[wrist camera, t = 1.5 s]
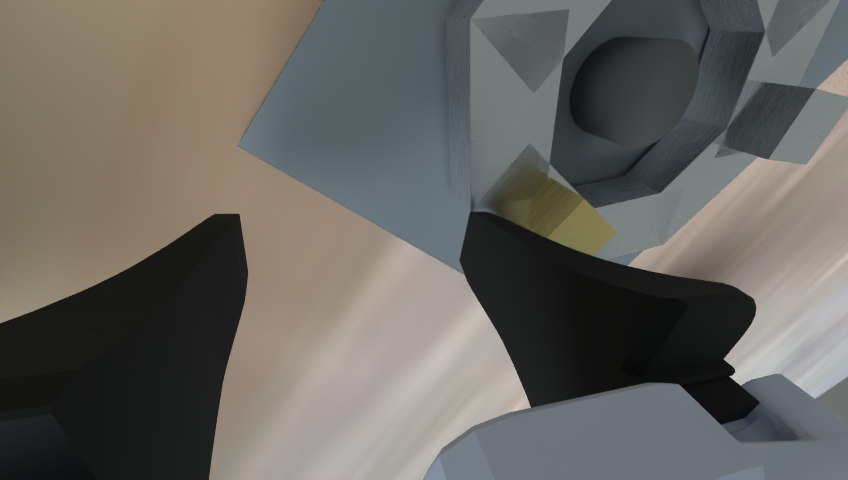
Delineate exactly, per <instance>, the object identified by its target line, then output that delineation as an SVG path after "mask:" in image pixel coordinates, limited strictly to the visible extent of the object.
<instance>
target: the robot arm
mask: <svg viewBox="0 0 848 480" xmlns="http://www.w3.org/2000/svg"><path fill="white" fill-rule="evenodd" d="M459 261H460V264H461V267H462V269H463V272H464V274H465V277H466V279H467V281H468V283H469V285H470V287H471V289H472V290H473V292H474V294H475V296H476V297H477V299H478V301H479V302H480V304H481V305H482V307H483V309H484V310H485V312H486V314H487V315H488V317H489V319H490V320H491V322H492V324H493V325H494V327H495V329H496V330H497V332H498V334H499V335H500V337H501V339H502V341H503V343H504V345H505V347H506V349H507V351H508V354H509V356H510V358H511V360H512V362H513V364H514V367H515V369H516V371H517V374H518V376H519V378H520V381H521V383H522V386H523V388H524V390H525V393H526V395H527V398H528V400H529V403H530V406H531V408H528V409H524V410H519V411H514V412H510V413H507V414H504V415H502V416H499V417H496V418H494V419H491V420H488V421H486V422H483V423H480V424H478V425H475V426H473V427H471V428H470V429H469V430H467V431H466V432H464V433H463V434H462V435H460V436H459V437H457V438H456V439H455V440H453V441H452V442H450V443H449V444H448V445H446V446H445V447H443V448H442V450H441V451H440V453H439V454H438V456H437V457H436V459H435V460H434V462H433V463H432V465H431V466H430V468H429V469H428V471H427V473H426V475H425V477H424V479H423V480H848V423H847V422H845V421H844V420H842V419H841V418H840V417H838V416H837V415H836V414H834V413H833V412H832V411H830V410H829V409H828V408H826V407H825V406H824V405H822V404H821V403H819V402H818V401H817V400H815V399H814V398H813V397H811V396H810V395H809V394H807V393H806V392H805V391H803V390H802V389H801V388H799V387H798V386H796V385H795V384H794V383H792V382H791V381H790V380H788V379H787V378H786V377H784V376H783V375H782V374H773V375H769V376H765V377H761V378H757V379H753V380H750V381H748V382H746V383H745V384H743V385H742V386H740V385H739V384H738V383H736V382H735V381H734V380H733V379H732V378H730V377H729V376H732V375H733V374H734V373H735V369H734V368H733V367H732V366H731V365H730V364H728V363H727V362H726V361H725V360H723V359H724V358H725V357H726V355H727V354H728V353H729V352H730V350H731V349H732V348H733V347H734V346H735V344H736V343H737V342H738V341H739V340H740V338H741V337H742V336H743V335H744V333H745V332H746V331H747V329H748V328H749V326H750V325H751V323H752V321H753V319H754V317H755V313H756V304H755V301H754V299H753V298H751V297H750V296H748V295H747V294H745V293H744V292H742V291H741V290H739V289H737V288H735V287H733V286H730V285H727V284H724V283H718V282H711V281H704V280H697V279H690V278H683V277H677V276H671V275H666V274H661V273H656V272H651V271H646V270H642V269H638V268H633V267H629V266H626V265H622V264H618V263H615V262H611V261H607V260H604V259H601V258H598V257H595V256H592V255H589V254H586V253H583V252H580V251H577V250H575V249H572V248H569V247H567V246H564V245H562V244H560V243H557V242H555V241H552V240H550V239H548V238H546V237H543V236H541V235H539V234H537V233H535V232H532V231H530V230H528V229H526V228H524V227H522V226H520V225H518V224H515V223H513V222H511V221H509V220H507V219H505V218H502V217H500V216H498V215H495V214H492V213H489V212H486V211H483V212H470V214H469V218H468V223H467V227H466V232H465V236H464V241H463V246H462V250H461V255H460V259H459ZM247 279H248V268H247V261H246V255H245V248H244V242H243V235H242V228H241V222H240V215H239V214H214V215H212V216H211V217H209V218H207V219H206V220H204V221H203V222H201V223H200V224H198V225H197V226H196V227H194V228H193V229H191V230H190V231H188V232H187V233H185V234H184V235H182V236H181V237H179V238H178V239H176V240H175V241H173V242H172V243H170V244H169V245H167V246H166V247H164V248H162V249H161V250H159V251H157V252H156V253H154V254H152V255H151V256H149V257H147V258H146V259H144V260H142V261H141V262H139V263H138V264H136V265H134V266H132V267H130V268H129V269H127V270H125V271H123V272H121V273H119V274H117V275H115V276H113V277H111V278H109V279H107V280H105V281H103V282H101V283H99V284H97V285H95V286H93V287H90V288H88V289H86V290H84V291H81V292H79V293H77V294H74V295H72V296H69V297H67V298H64V299H62V300H60V301H57V302H55V303H52V304H50V305H47V306H45V307H43V308H40V309H38V310H35V311H33V312H30V313H28V314H25V315H22V316H20V317H17V318H14V319H11V320H8V321H6V322H3V323H0V480H209V474H210V466H211V458H212V451H213V444H214V437H215V430H216V423H217V416H218V410H219V403H220V397H221V391H222V384H223V380H224V375H225V371H226V367H227V363H228V360H229V356H230V352H231V349H232V345H233V342H234V338H235V335H236V331H237V328H238V324H239V320H240V317H241V313H242V310H243V306H244V302H245V295H246V288H247Z"/></svg>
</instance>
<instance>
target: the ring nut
mask: <svg viewBox="0 0 848 480" xmlns="http://www.w3.org/2000/svg"><path fill="white" fill-rule="evenodd" d="M610 1H611V0H458V2H457V3H456V5H455V6H454V7H453V9H452V10H451V12H450V13H449V14H448V16H447V17H446V19H445V33H446V61H447V88H448V116H449V144H450V172H451V190H452V191H453V192H454V193H455V194H456V196H457V197H458V198H459V199H460V200H461V201H462V202H463V203H464V205H465V206H466V207H467V208H468V209H469V210H470V211H471V212H483V211H486V212H489V213H492V214H495V215H498V216H500V217H502V218H505V219H507V220H509V221H511V222H513V223H515V224H518V225H520V226H522V227H524V228H526V229H528V230H530V231H532V232H535V233H537V234H539V235H541V236H543V237H546V238H548V239H550V240H552V241H555V242H557V243H560V244H562V245H564V246H567V247H569V248H572V249H575V250H577V251H580V252H583V253H586V254H589V255H592V256H595V257H598V258H601V259H604V260H608V259H612V258H615V257H619V256H623V255H627V254H630V253H634V252H638V251H641V250H645V249H649V248H653V247H656V246H660V245H663V244H664V243H665V242H666V241H667V240H669V239H670V238H671V237H672V236H673V235H674V234H675V233H676V232H677V231H678V230H679V229H680V228H682V227H683V226H684V225H685V224H686V223H687V222H688V221H689V220H690V219H691V218H692V217H693V216H694V215H696V214H697V213H698V212H699V211H700V210H701V209H702V208H703V207H704V206H705V205H706V204H707V203H709V202H710V201H711V200H712V199H713V198H714V197H715V196H716V195H717V194H718V193H719V192H720V191H721V190H723V189H724V188H725V187H726V186H727V185H728V184H729V183H730V182H731V181H732V180H733V179H734V178H736V177H737V176H738V175H739V174H740V173H741V172H742V171H743V170H744V169H745V168H746V167H747V166H748V165H750V164H751V163H752V162H753V161H754V160H755V159H756V158H757V157H762V158H765V159H769V160H776V161H784V162H791V163H799V164H807V163H808V161H809V160H810V159H811V157H812V156H813V155H814V153H815V152H816V150H817V149H818V148H819V146H820V145H821V144H822V142H823V141H824V140H825V138H826V137H827V136H828V134H829V133H830V131H831V130H832V129H833V127H834V126H835V125H836V123H837V122H838V121H839V119H840V118H841V117H842V115H843V114H844V112H845V111H846V110H847V108H848V97H845V96H841V95H837V94H834V93H830V92H826V91H822V90H818V89H813V88H806V87H798V86H799V84H800V82H801V80H802V78H803V75H804V73H805V71H806V69H807V67H808V65H809V63H810V61H811V59H812V57H813V55H814V53H815V51H816V49H817V47H818V45H819V43H820V41H821V38H822V36H823V34H824V32H825V30H826V28H827V26H828V24H829V22H830V20H831V18H832V16H833V14H834V12H835V10H836V8H837V6H838V4H839V1H840V0H699V2H700V5H701V7H702V10H703V13H704V15H705V18H706V20H707V23H708V26H709V28H710V34H709V37H708V40H707V43H706V46H705V49H704V52H703V55H702V58H701V61H700V64H699V75H698V82H697V86H696V89H695V92H694V95H693V98H692V100H691V102H690V104H689V106H688V108H687V110H686V111H685V113H684V114H683V116H682V118H681V119H680V120H679V121H678V122H677V124H676V125H675V126H674V127H673V128H672V129H671V130H670V131H669V132H668V133H667V134H666V135H664V136H663V137H662V138H661V139H660V140H659V141H658V142H657V143H656V144H655V146H654V147H653V148H652V149H651V150H650V151H649V152H648V153H647V154H646V155H645V156H644V157H643V158H642V159H641V160H640V161H639V162H638V163H637V164H636V165H635V166H634V167H633V168H632V169H631V170H630V171H629V172H628V173H627V174H626V175H625V176H622V177H617V178H612V179H608V180H603V181H599V182H594V183H589V184H585V185H580V186H575V187H572V186H571V185H570V184H569V183H568V182H567V181H566V180H565V179H564V178H563V177H562V176H561V175H560V174H559V173H558V172H557V171H556V170H555V169H554V168H553V167H552V166H551V165H550V164H549V162H550V155H551V147H552V140H553V132H554V124H555V117H556V109H557V101H558V94H559V86H560V78H561V71H562V63H563V58H564V57H565V56H566V55H567V53H568V52H569V51H570V50H571V49H572V47H573V46H574V45H575V44H576V43H577V41H578V40H579V39H580V38H581V36H582V35H583V34H584V33H585V32H586V30H587V29H588V28H589V27H590V26H591V24H592V23H593V22H594V21H595V20H596V18H597V17H598V16H599V15H600V14H601V12H602V11H603V10H604V9H605V7H606V6H607V5H608V4H609V3H610Z"/></svg>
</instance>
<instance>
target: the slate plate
mask: <svg viewBox="0 0 848 480" xmlns="http://www.w3.org/2000/svg"><path fill="white" fill-rule="evenodd" d="M457 2H458V0H324V1H323V3H322V5H321V6H320V8H319V10H318V11H317V13H316V15H315V16H314V18H313V20H312V22H311V23H310V25H309V27H308V28H307V30H306V32H305V33H304V35H303V37H302V38H301V40H300V42H299V43H298V45H297V47H296V48H295V50H294V52H293V53H292V55H291V57H290V58H289V60H288V62H287V63H286V65H285V67H284V68H283V70H282V72H281V73H280V75H279V77H278V78H277V80H276V82H275V83H274V85H273V87H272V88H271V90H270V92H269V93H268V95H267V97H266V98H265V100H264V102H263V103H262V105H261V107H260V108H259V110H258V112H257V113H256V115H255V117H254V118H253V120H252V122H251V123H250V125H249V127H248V128H247V130H246V132H245V133H244V135H243V137H242V138H241V140H240V142H239V144H238V147H240V148H242V149H244V150H245V151H247V152H249V153H251V154H252V155H254V156H256V157H258V158H259V159H261V160H263V161H265V162H267V163H268V164H270V165H272V166H274V167H275V168H277V169H279V170H281V171H282V172H284V173H286V174H288V175H289V176H291V177H293V178H295V179H296V180H298V181H300V182H302V183H304V184H305V185H307V186H309V187H311V188H312V189H314V190H316V191H318V192H319V193H321V194H323V195H325V196H326V197H328V198H330V199H332V200H334V201H335V202H337V203H339V204H341V205H342V206H344V207H346V208H348V209H349V210H351V211H353V212H355V213H356V214H358V215H360V216H362V217H363V218H365V219H367V220H369V221H371V222H372V223H374V224H376V225H378V226H379V227H381V228H383V229H385V230H386V231H388V232H390V233H392V234H393V235H395V236H397V237H399V238H400V239H402V240H404V241H406V242H408V243H409V244H411V245H413V246H415V247H416V248H418V249H420V250H422V251H423V252H425V253H427V254H429V255H430V256H432V257H434V258H436V259H438V260H439V261H441V262H443V263H445V264H446V265H448V266H450V267H452V268H453V269H455V270H457V271H459V272H460V273H462V274H464V272H463V269H462V267H461V264H460V261H459V259H460V255H461V250H462V246H463V241H464V236H465V232H466V227H467V223H468V218H469V214H470V212H471V211H470V210H469V209H468V208H467V207H466V206H465V205H464V203H463V202H462V201H461V200H460V199H459V198H458V197H457V196H456V194H455V193H454V192H453V191H452V190H451V172H450V144H449V116H448V88H447V61H446V33H445V19H446V17H447V16H448V14H449V13H450V12H451V10H452V9H453V7H454V6H455V5H456V3H457ZM709 34H710V28H709V26H708V23H707V20H706V18H705V15H704V13H703V10H702V7H701V5H700V2H699V0H611V1H610V3H609V4H608V5H607V6H606V7H605V9H604V10H603V11H602V12H601V14H600V15H599V16H598V17H597V18H596V20H595V21H594V22H593V23H592V24H591V26H590V27H589V28H588V29H587V30H586V32H585V33H584V34H583V35H582V36H581V38H580V39H579V40H578V41H577V43H576V44H575V45H574V46H573V47H572V49H571V50H570V51H569V52H568V53H567V55H566V56H565V57H564V58H563V63H562V71H561V78H560V86H559V94H558V101H557V109H556V117H555V124H554V132H553V140H552V147H551V155H550V162H549V164H550V165H551V166H552V167H553V168H554V169H555V170H556V171H557V172H558V173H559V174H560V175H561V176H562V177H563V178H564V179H565V180H566V181H567V182H568V183H569V184H570V185H571V186H572V187H575V186H580V185H585V184H589V183H594V182H599V181H603V180H608V179H612V178H617V177H622V176H625V175H626V174H627V173H628V172H629V171H630V170H631V169H632V168H633V167H634V166H635V165H636V164H637V163H638V162H639V161H640V160H641V159H642V158H643V157H644V156H645V155H646V154H647V153H648V152H649V151H650V150H651V149H652V148H653V147H654V146H655V144H656V143H657V142H658V141H659V140H660V139H661V138H662V137H663V136H664V135H666V134H667V133H668V132H669V131H670V130H671V129H672V128H673V127H674V126H675V125H676V124H677V122H678V121H679V120H680V119H681V118H682V116H683V114H684V113H685V111H686V110H687V108H688V106H689V104H690V102H691V100H692V98H693V95H694V92H695V89H696V86H697V82H698V75H699V64H700V61H701V58H702V55H703V52H704V49H705V46H706V43H707V40H708V37H709ZM847 59H848V0H840V1H839V4H838V6H837V8H836V10H835V12H834V14H833V16H832V18H831V20H830V22H829V24H828V26H827V28H826V30H825V32H824V34H823V36H822V38H821V41H820V43H819V45H818V47H817V49H816V51H815V53H814V55H813V57H812V59H811V61H810V63H809V65H808V67H807V69H806V71H805V73H804V75H803V78H802V80H801V82H800V84H799V86H798V87H806V88H813V89H816V88H817V87H818V86H819V85H820V84H821V83H822V82H824V81H825V80H826V79H827V78H828V77H829V76H830V75H831V74H832V73H833V72H834V71H835V70H836V69H837V68H838V67H840V66H841V65H842V64H843V63H844V62H845V61H846V60H847ZM642 251H643V250H641V251H638V252H634V253H630V254H627V255H623V256H619V257H615V258H612V259H608V260H607V261H611V262H615V263H618V264H622V265H626V266H627V265H628V264H629V263H630V262H632V261H633V260H634V259H635V258H636V257H637V256H638V255H639V254H640V253H641V252H642ZM464 275H465V274H464Z"/></svg>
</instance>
